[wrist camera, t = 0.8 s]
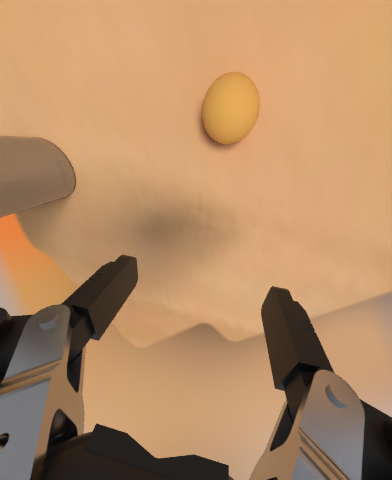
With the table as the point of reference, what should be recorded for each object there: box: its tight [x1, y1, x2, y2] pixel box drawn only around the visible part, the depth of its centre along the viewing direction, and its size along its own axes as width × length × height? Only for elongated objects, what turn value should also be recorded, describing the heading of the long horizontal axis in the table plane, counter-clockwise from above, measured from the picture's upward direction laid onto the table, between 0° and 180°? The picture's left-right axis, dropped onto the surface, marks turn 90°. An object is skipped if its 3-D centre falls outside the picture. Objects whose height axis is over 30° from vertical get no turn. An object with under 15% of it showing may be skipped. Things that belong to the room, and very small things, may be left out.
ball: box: [202, 72, 260, 144], centre depth 18 cm, size 6×6×6 cm
